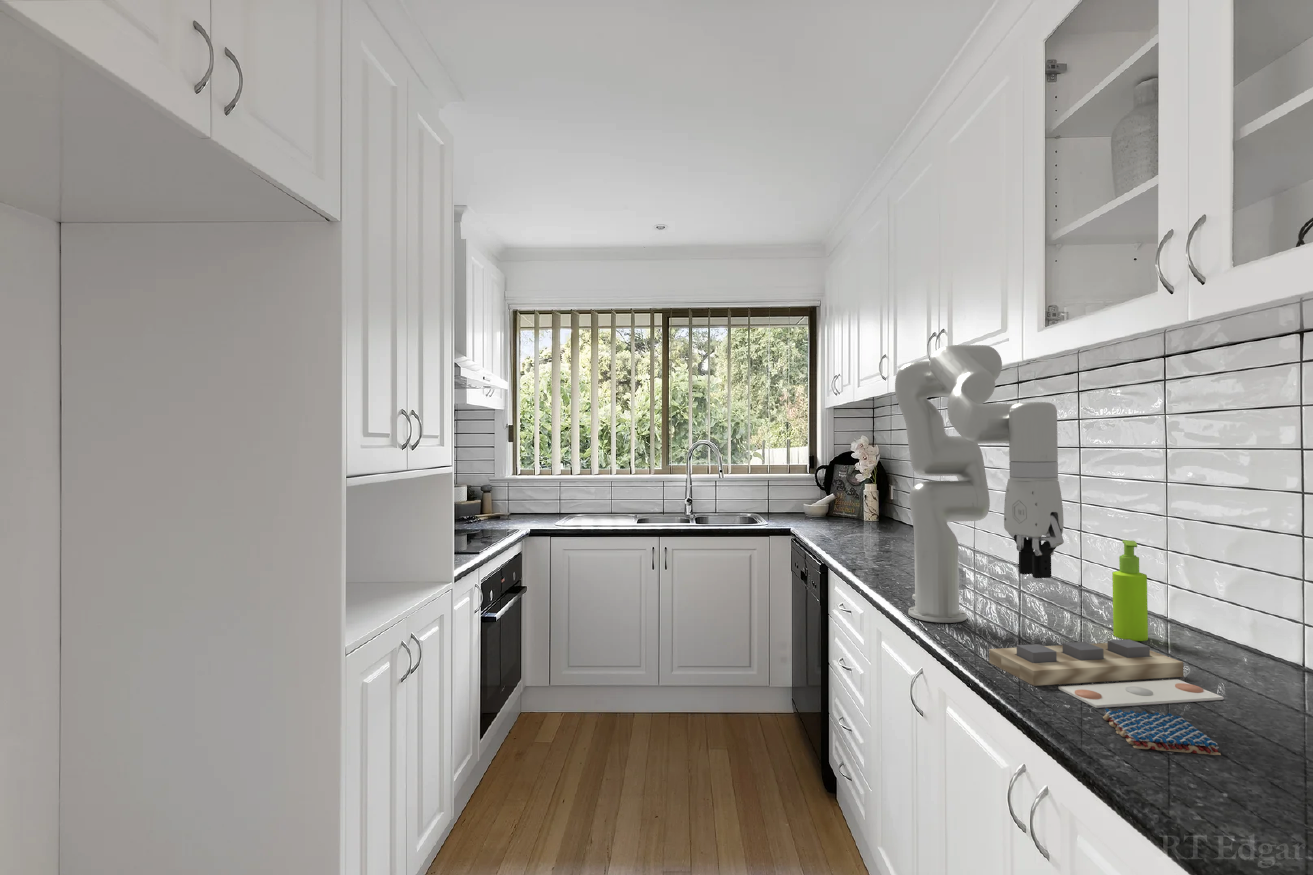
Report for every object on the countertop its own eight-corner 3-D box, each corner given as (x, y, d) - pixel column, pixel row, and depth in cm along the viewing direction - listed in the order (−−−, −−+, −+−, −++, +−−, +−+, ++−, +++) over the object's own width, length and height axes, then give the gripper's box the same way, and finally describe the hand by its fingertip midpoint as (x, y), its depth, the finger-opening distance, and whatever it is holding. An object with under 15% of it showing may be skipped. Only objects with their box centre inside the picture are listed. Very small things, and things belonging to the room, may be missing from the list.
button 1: (1033, 667, 117) (1033, 652, 117) (1016, 659, 121) (1016, 645, 121) (1056, 665, 117) (1056, 651, 117) (1039, 657, 122) (1039, 643, 122)
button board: (1033, 685, 113) (1033, 670, 113) (989, 662, 125) (989, 649, 125) (1183, 676, 116) (1183, 662, 116) (1126, 654, 128) (1126, 641, 128)
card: (1096, 707, 103) (1095, 703, 103) (1058, 688, 111) (1058, 685, 111) (1223, 699, 106) (1223, 695, 106) (1178, 681, 114) (1178, 678, 114)
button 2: (1080, 664, 118) (1080, 650, 118) (1062, 656, 122) (1062, 642, 122) (1103, 663, 118) (1103, 648, 118) (1084, 655, 123) (1084, 641, 123)
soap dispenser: (1116, 640, 138) (1114, 542, 138) (1111, 631, 144) (1110, 537, 144) (1151, 643, 135) (1149, 543, 135) (1145, 634, 141) (1143, 539, 141)
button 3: (1127, 661, 119) (1127, 647, 119) (1107, 654, 123) (1107, 640, 123) (1149, 660, 120) (1149, 646, 120) (1129, 652, 124) (1129, 639, 124)
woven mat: (1133, 753, 89) (1132, 737, 89) (1100, 720, 100) (1099, 706, 100) (1224, 760, 87) (1224, 745, 87) (1181, 726, 97) (1181, 712, 97)
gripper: (985, 470, 127) (987, 568, 127) (1045, 474, 111) (1047, 586, 111) (1022, 469, 128) (1024, 566, 128) (1087, 473, 112) (1089, 584, 112)
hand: (1035, 574), depth 119 cm, fingers open, 2 cm apart
